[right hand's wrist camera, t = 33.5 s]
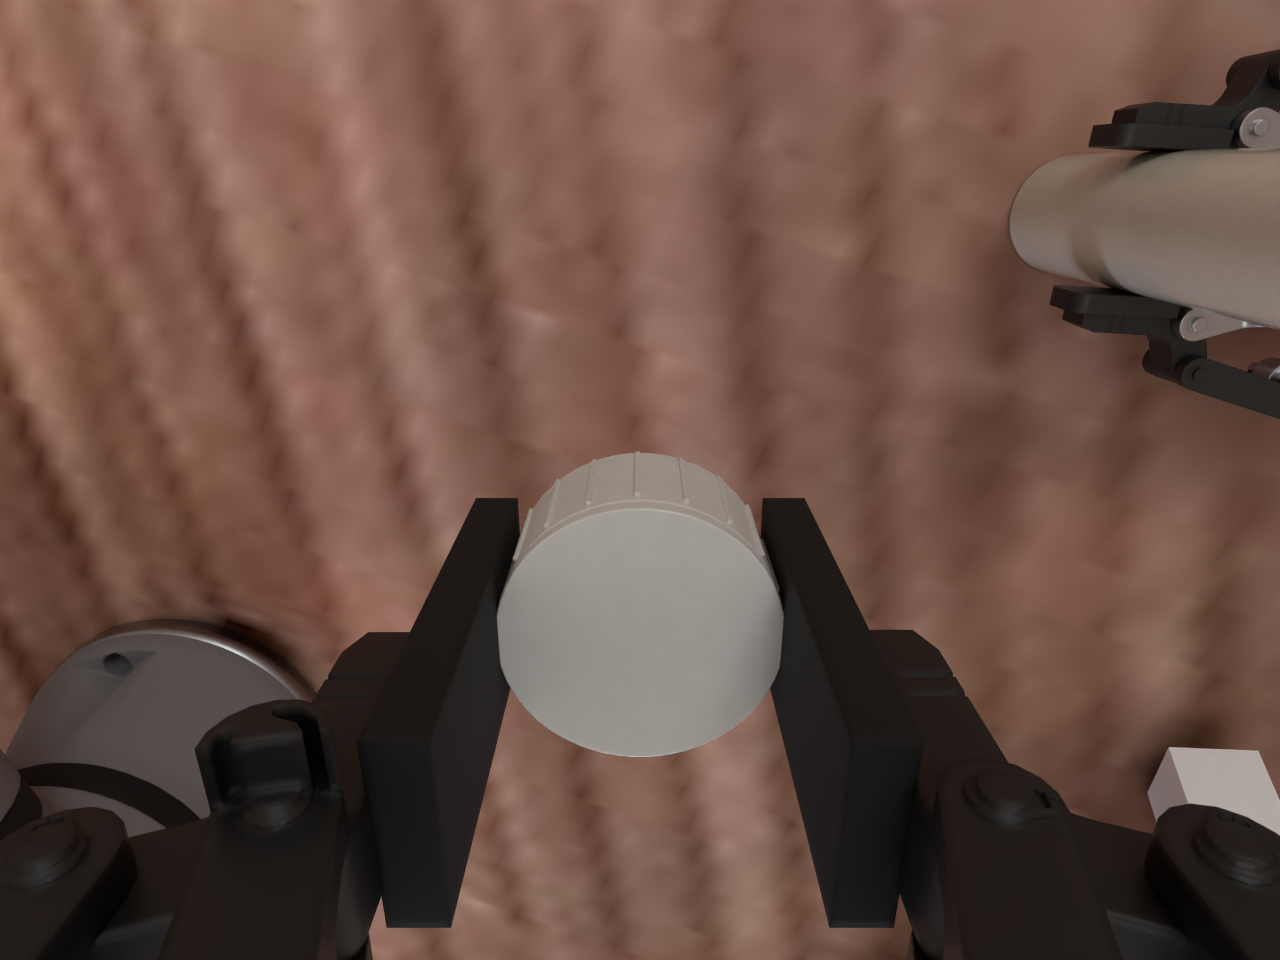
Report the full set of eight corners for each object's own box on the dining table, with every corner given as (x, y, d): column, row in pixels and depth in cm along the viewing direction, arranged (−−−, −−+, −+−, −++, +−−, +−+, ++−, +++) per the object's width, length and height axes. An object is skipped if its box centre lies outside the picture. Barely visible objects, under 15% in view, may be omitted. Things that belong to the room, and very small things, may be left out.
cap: (676, 397, 13) (683, 446, 11) (812, 595, 15) (843, 673, 13) (464, 536, 14) (430, 607, 12) (610, 709, 16) (606, 801, 14)
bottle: (1052, 295, 35) (1530, 441, 16) (986, 216, 34) (1422, 275, 15) (1145, 212, 34) (1779, 268, 15) (1080, 127, 33) (1683, 71, 14)
